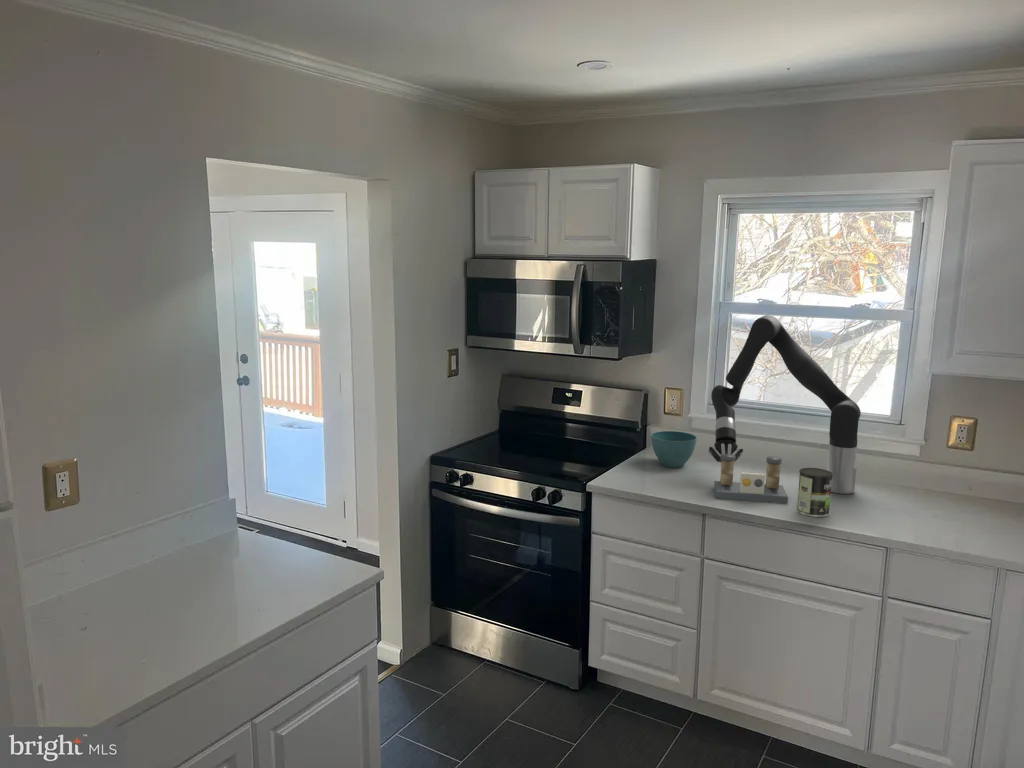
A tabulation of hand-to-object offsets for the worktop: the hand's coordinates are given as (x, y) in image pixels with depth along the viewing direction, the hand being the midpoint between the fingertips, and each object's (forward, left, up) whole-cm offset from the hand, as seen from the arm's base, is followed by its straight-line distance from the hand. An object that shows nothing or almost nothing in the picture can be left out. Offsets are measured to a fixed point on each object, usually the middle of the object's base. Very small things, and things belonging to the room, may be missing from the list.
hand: (726, 471), depth 272 cm
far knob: (0, +3, -4) cm, 5 cm away
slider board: (-8, +7, -6) cm, 12 cm away
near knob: (-16, +3, -4) cm, 17 cm away
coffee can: (-27, +20, -7) cm, 34 cm away
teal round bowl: (+19, -27, -7) cm, 33 cm away
